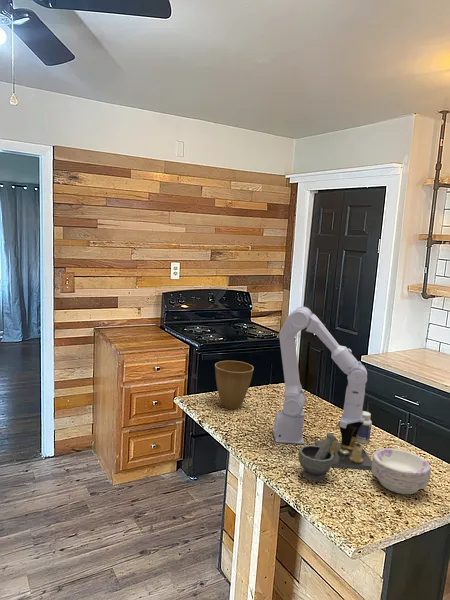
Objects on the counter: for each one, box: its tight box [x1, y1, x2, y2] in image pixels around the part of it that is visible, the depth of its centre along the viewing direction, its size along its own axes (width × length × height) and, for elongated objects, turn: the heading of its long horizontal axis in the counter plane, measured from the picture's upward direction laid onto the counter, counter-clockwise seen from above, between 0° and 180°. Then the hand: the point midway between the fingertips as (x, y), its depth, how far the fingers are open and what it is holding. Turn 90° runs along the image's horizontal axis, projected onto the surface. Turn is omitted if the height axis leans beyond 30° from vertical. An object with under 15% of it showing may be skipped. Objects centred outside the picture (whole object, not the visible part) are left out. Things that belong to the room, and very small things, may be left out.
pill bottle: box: [356, 410, 373, 444], centre depth 160 cm, size 5×5×10 cm
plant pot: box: [214, 360, 255, 410], centre depth 180 cm, size 15×15×16 cm
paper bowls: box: [370, 447, 431, 495], centre depth 131 cm, size 15×15×8 cm
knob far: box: [340, 434, 357, 450], centre depth 150 cm, size 4×4×4 cm
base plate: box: [314, 440, 372, 471], centre depth 146 cm, size 15×15×2 cm
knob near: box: [349, 443, 364, 463], centre depth 142 cm, size 4×4×4 cm
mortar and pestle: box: [298, 432, 337, 483], centre depth 132 cm, size 11×9×12 cm
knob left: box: [321, 436, 339, 454], centre depth 146 cm, size 4×4×4 cm
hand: (348, 443), depth 150 cm, fingers closed on knob far, 3 cm apart
